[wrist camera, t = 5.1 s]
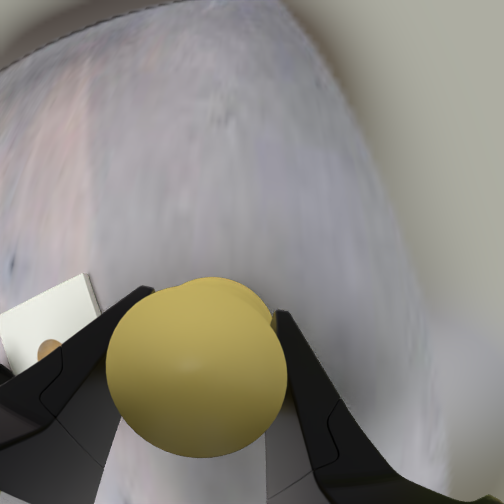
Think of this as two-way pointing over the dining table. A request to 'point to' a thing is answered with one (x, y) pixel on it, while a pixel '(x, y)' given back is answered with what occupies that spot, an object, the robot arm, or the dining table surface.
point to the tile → (47, 321)
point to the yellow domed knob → (197, 368)
